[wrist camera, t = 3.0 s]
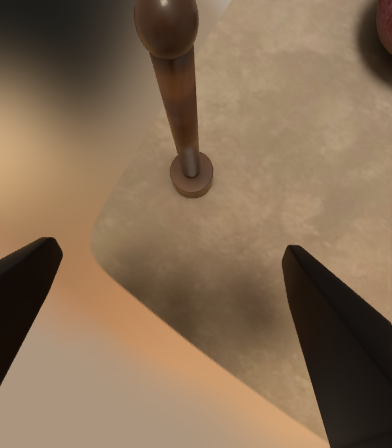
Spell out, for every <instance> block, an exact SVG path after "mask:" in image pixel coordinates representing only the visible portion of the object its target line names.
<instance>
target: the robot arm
mask: <svg viewBox="0 0 392 448" xmlns="http://www.w3.org/2000/svg"><path fill="white" fill-rule="evenodd" d="M62 257H63V253H62V250H61V248H60V246H59V245H58V243H57V241H56V239H54V238H53V237H42V238H39V239H37V240H36V241H34V242H32V243H30V244H28V245H26V246H24V247H22V248H21V249H19V250H17V251H15V252H13V253H11V254H9V255H8V256H6V257H4V258H2V259H0V385H1V384H2V381H3V379H4V378H5V376H6V374H7V372H8V370H9V368H10V366H11V364H12V362H13V360H14V358H15V357H16V355H17V353H18V351H19V349H20V347H21V345H22V343H23V341H24V339H25V337H26V335H27V333H28V331H29V330H30V328H31V326H32V324H33V322H34V320H35V318H36V316H37V314H38V312H39V310H40V308H41V306H42V304H43V303H44V301H45V299H46V296H47V295H48V292H49V290H50V288H51V285H52V283H53V280H54V278H55V275H56V273H57V270H58V268H59V265H60V262H61V260H62ZM282 269H283V275H284V281H285V287H286V293H287V298H288V303H289V307H290V311H291V314H292V318H293V321H294V324H295V328H296V331H297V335H298V338H299V342H300V345H301V348H302V352H303V355H304V359H305V362H306V366H307V369H308V372H309V376H310V379H311V383H312V386H313V389H314V393H315V396H316V400H317V403H318V407H319V410H320V413H321V417H322V420H323V424H324V427H325V431H326V434H327V437H328V441H329V444H330V448H392V325H391V322H389V321H388V320H387V319H386V318H385V317H384V316H382V315H381V314H380V313H379V312H378V311H376V310H375V309H374V308H373V307H372V306H371V305H369V304H368V303H367V302H366V301H365V300H364V299H362V298H361V297H360V296H359V295H358V294H356V293H355V292H354V291H353V290H352V289H351V288H349V287H348V286H347V285H346V284H345V283H344V282H342V281H341V280H340V279H339V278H338V277H336V276H335V275H334V274H333V273H332V272H331V271H329V270H328V269H327V268H326V267H325V266H324V265H322V264H321V263H320V262H319V261H318V260H316V259H315V258H314V257H313V256H312V255H311V254H309V253H308V252H307V251H306V250H305V249H304V248H302V247H301V246H299V245H288V246H287V248H286V250H285V253H284V256H283V259H282Z"/></svg>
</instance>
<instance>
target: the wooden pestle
mask: <svg viewBox="0 0 392 448" xmlns="http://www.w3.org/2000/svg"><path fill="white" fill-rule="evenodd" d="M134 21H135V26H136V30H137V33H138V35H139V38H140V40H141V42H142V43H143V45H144V46H145V48H146V49H147V50H148V51H149V53H150V57H151V60H152V63H153V67H154V71H155V74H156V78H157V82H158V85H159V89H160V92H161V96H162V100H163V103H164V107H165V110H166V114H167V117H168V121H169V125H170V128H171V132H172V135H173V139H174V142H175V146H176V150H177V153H178V156H177V157H176V158H175V159H174V160H173V162H172V164H171V167H170V176H171V179H172V182H173V184H174V186H175V188H176V190H177V191H178V192H179V193H180V194H181V195H183V196H185V197H188V198H198V197H200V196H202V195H204V194H205V193H206V192H207V191H208V190H209V189H210V187H211V184H212V178H213V166H212V163H211V161H210V159H209V158H208V157H207V156H206V155H205V154H203V153H201V152H199V139H198V120H197V100H196V81H195V62H194V42H195V39H196V36H197V32H198V25H199V17H198V9H197V5H196V1H195V0H135V5H134Z"/></svg>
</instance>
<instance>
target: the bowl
mask: <svg viewBox="0 0 392 448" xmlns="http://www.w3.org/2000/svg"><path fill="white" fill-rule="evenodd" d="M376 23H377V30H378V35H379V38H380V40H381V42H382V44H383V46H384V47H385V49H386V50H387V51H388V52H389V53H390V54H391V55H392V0H379V1H378V6H377V14H376Z"/></svg>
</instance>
